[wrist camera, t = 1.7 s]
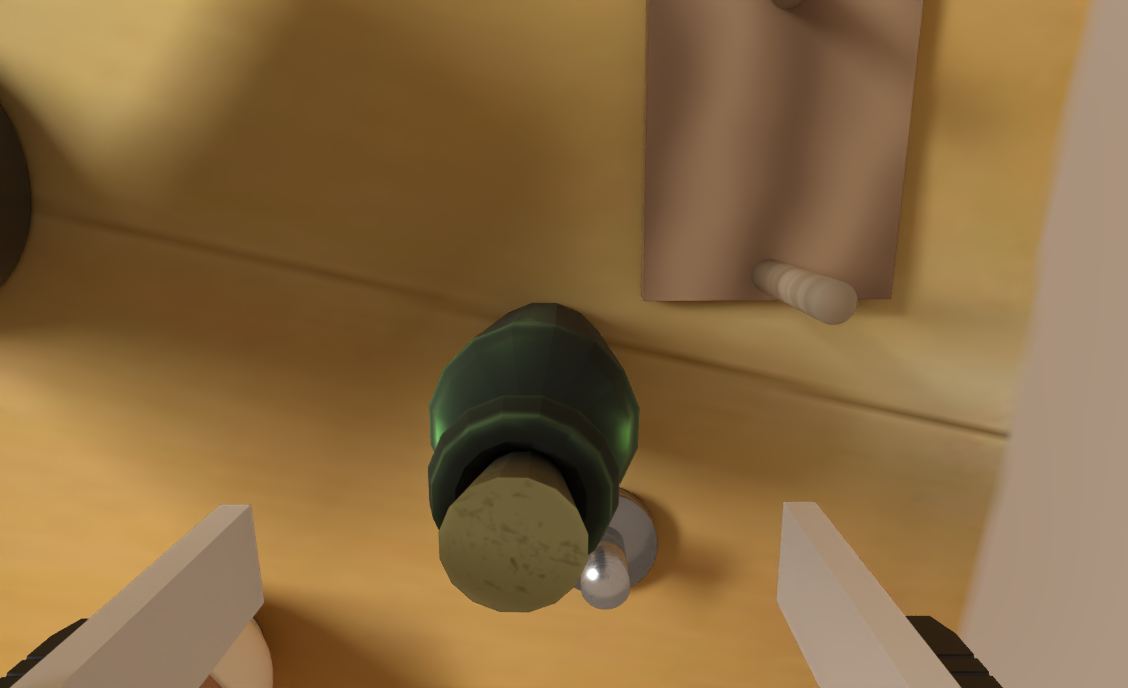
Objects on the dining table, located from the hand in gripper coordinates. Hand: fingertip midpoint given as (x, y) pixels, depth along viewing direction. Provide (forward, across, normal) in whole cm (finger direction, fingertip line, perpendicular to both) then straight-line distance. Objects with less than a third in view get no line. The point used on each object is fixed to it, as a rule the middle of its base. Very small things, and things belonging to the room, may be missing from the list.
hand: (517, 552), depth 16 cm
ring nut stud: (+18, +3, -10) cm, 21 cm away
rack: (+18, +11, +11) cm, 24 cm away
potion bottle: (+18, 0, 0) cm, 19 cm away
